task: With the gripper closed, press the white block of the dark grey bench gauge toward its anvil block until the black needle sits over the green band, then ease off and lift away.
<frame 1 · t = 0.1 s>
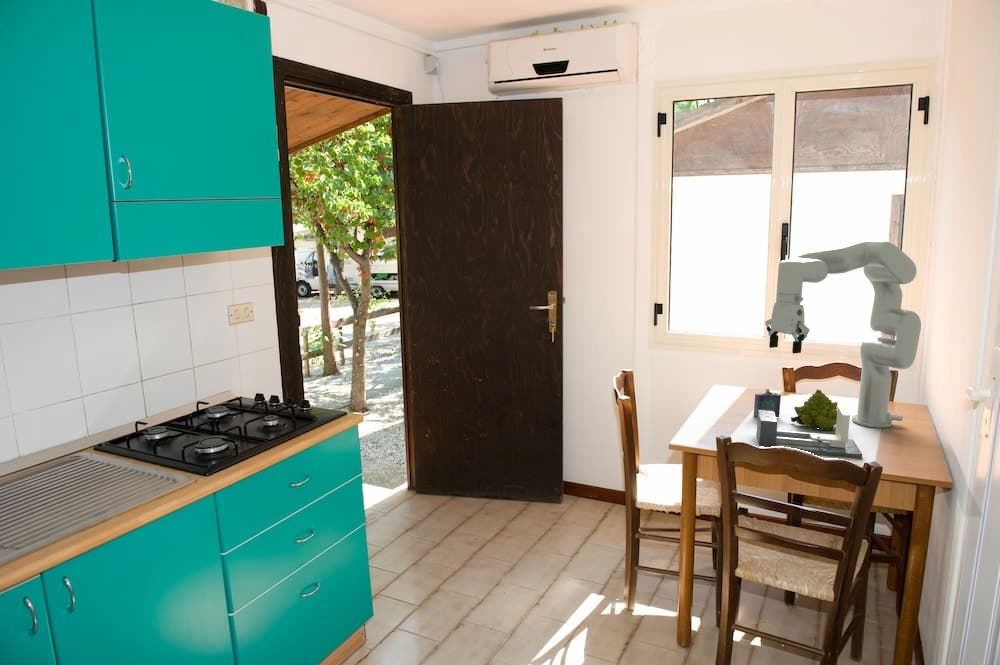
hand: (784, 350, 217), 31 cm above the table, tool pointing down, fingers open, 9 cm apart
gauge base: (806, 446, 217), on the table
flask: (766, 417, 248), on the table
vegetable: (818, 428, 235), on the table
white block: (828, 427, 213), point 7 cm above the table, slide at 0.0 cm
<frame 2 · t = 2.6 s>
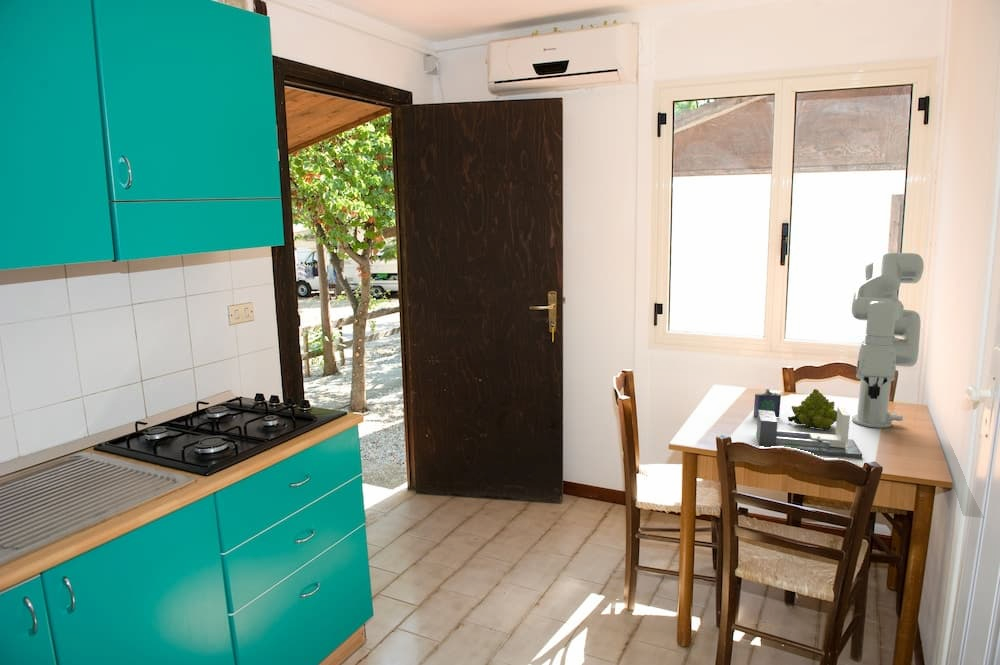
hand: (873, 397, 208), 18 cm above the table, tool pointing down, fingers closed
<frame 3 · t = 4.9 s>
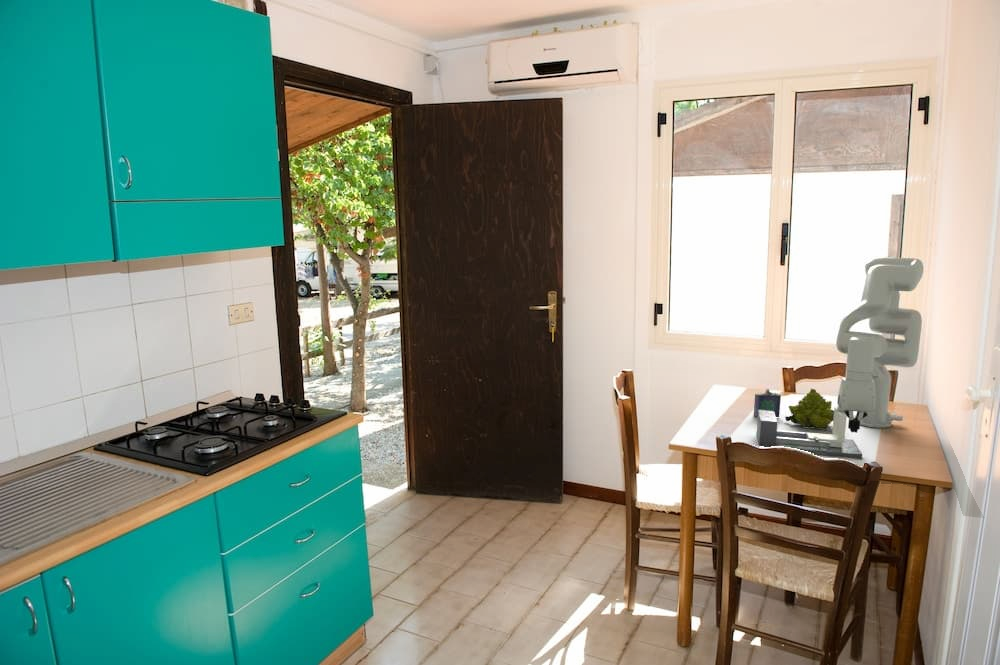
hand: (853, 431, 212), 7 cm above the table, tool pointing down, fingers closed
white block: (825, 427, 213), point 7 cm above the table, slide at 0.9 cm, touching gripper
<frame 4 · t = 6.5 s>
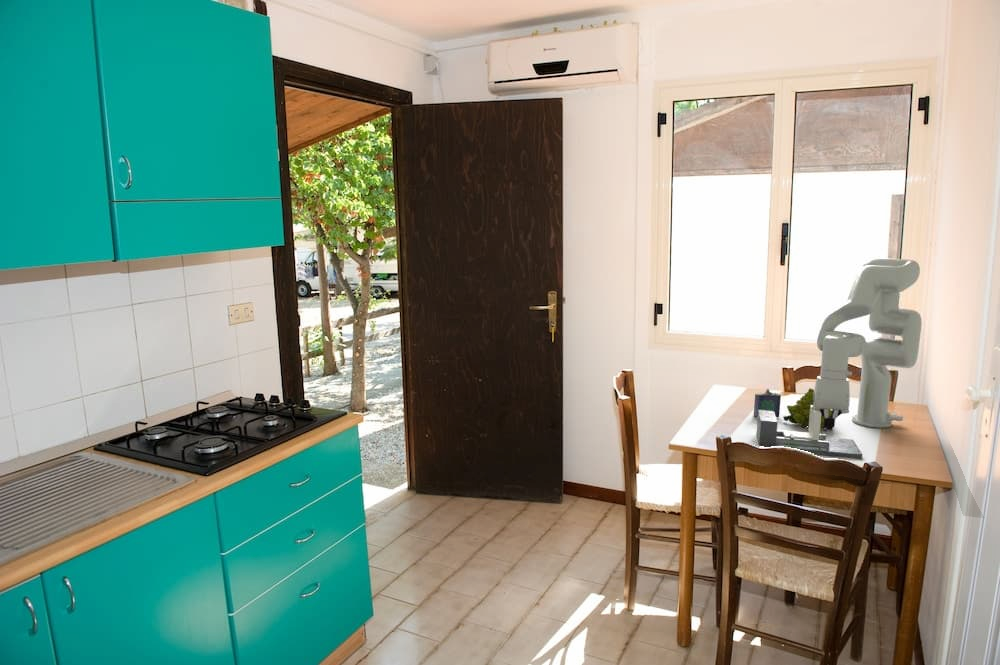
hand: (828, 429, 214), 7 cm above the table, tool pointing down, fingers closed
white block: (801, 425, 215), point 7 cm above the table, slide at 8.2 cm, touching gripper
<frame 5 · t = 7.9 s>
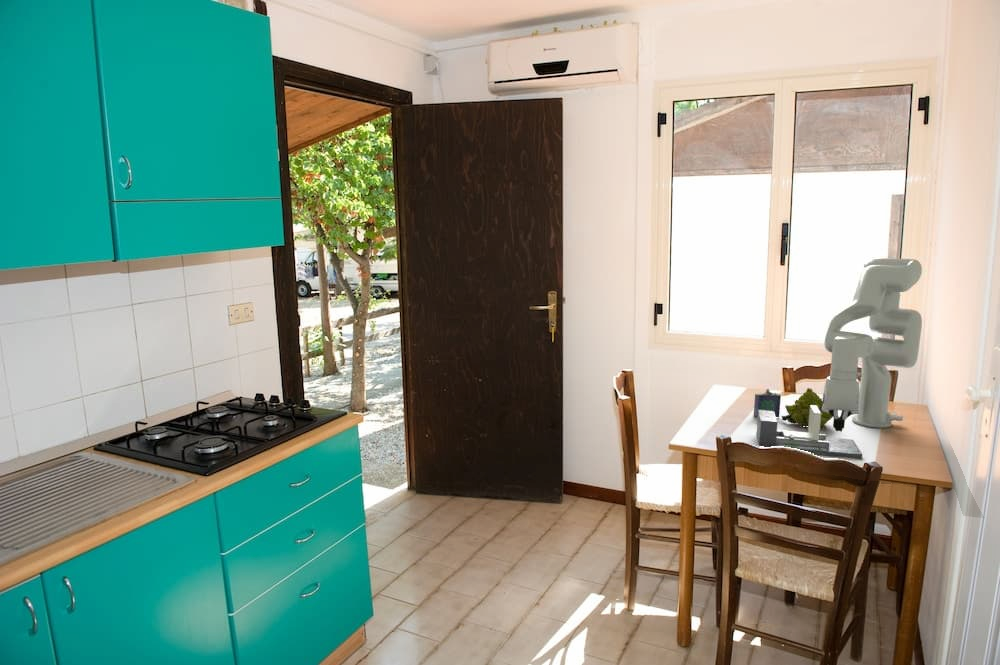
hand: (838, 430, 213), 7 cm above the table, tool pointing down, fingers closed
white block: (801, 425, 215), point 7 cm above the table, slide at 8.3 cm
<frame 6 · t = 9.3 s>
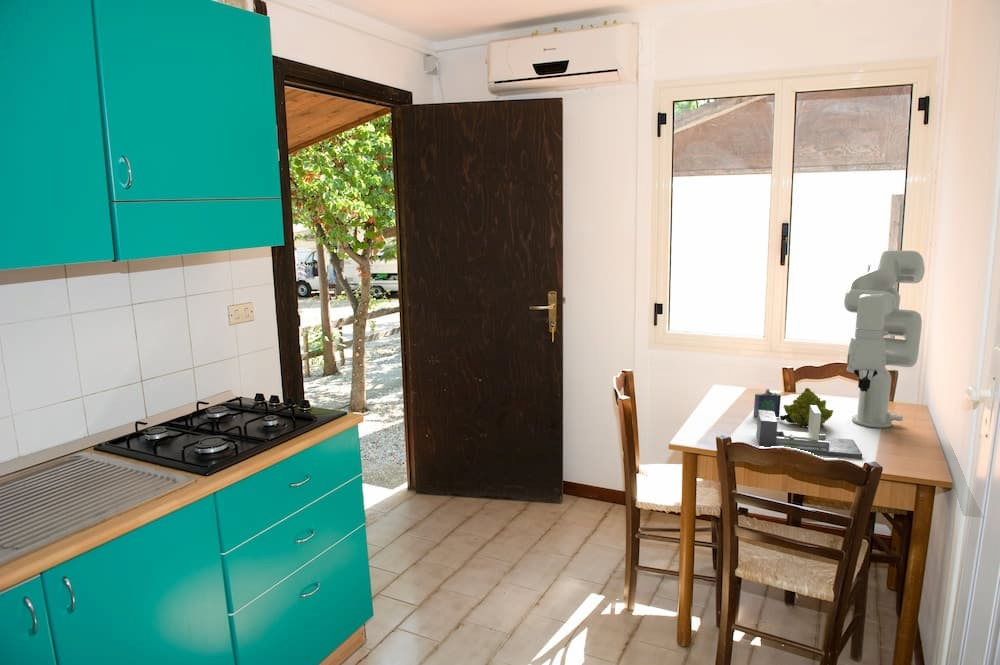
hand: (863, 390, 209), 20 cm above the table, tool pointing down, fingers closed
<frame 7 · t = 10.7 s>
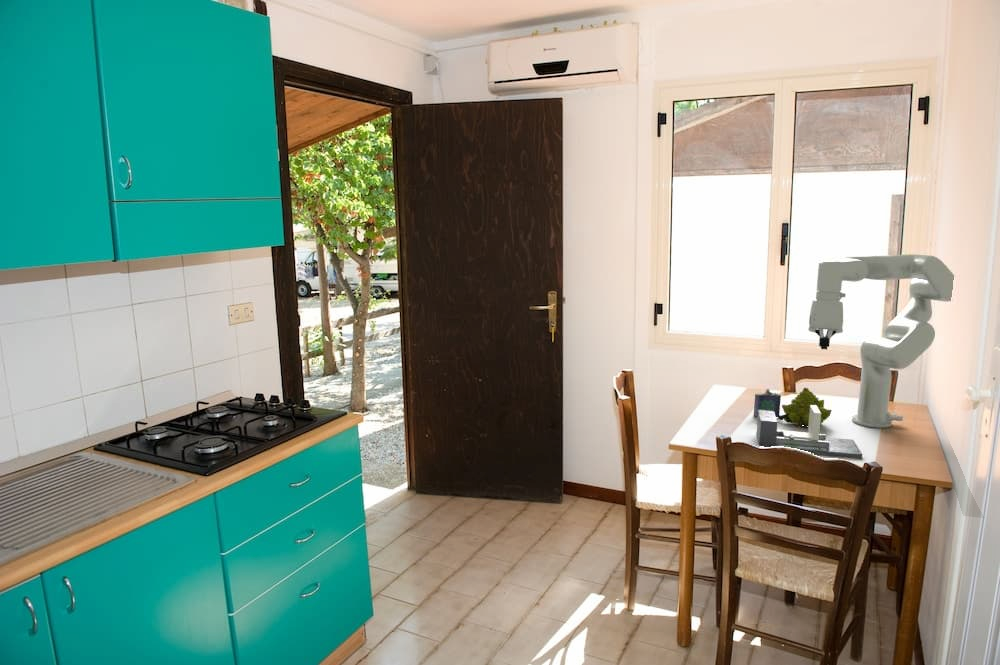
hand: (823, 348, 229), 29 cm above the table, tool pointing down, fingers closed
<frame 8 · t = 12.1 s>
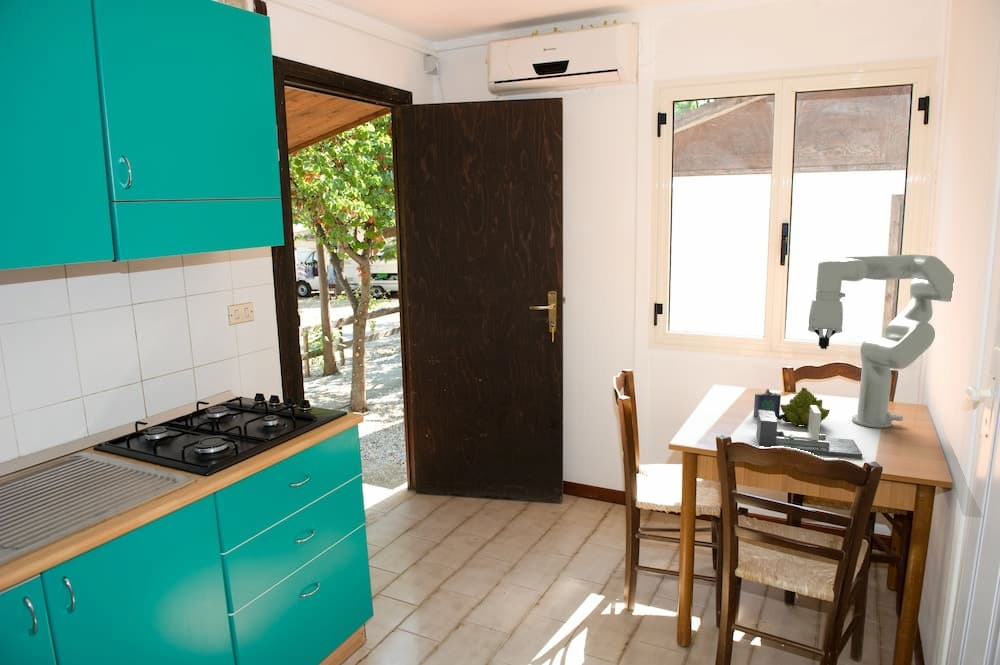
hand: (823, 348, 229), 29 cm above the table, tool pointing down, fingers closed
at the end: white block slide at 8.3 cm; the gripper is holding nothing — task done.
